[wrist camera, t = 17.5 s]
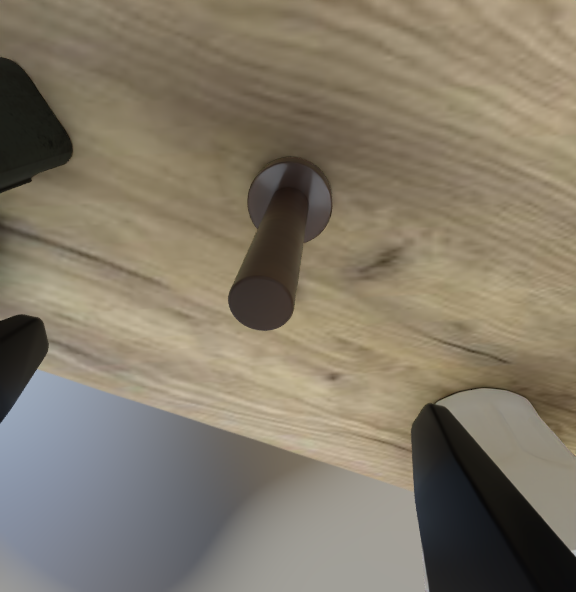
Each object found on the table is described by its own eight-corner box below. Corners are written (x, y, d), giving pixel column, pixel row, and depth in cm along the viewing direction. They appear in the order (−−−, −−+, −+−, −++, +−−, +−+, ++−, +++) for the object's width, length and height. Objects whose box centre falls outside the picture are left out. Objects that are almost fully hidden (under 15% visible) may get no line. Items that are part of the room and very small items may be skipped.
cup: (546, 342, 22) (701, 535, 13) (581, 448, 27) (709, 640, 18) (368, 399, 27) (389, 572, 17) (427, 481, 32) (467, 647, 23)
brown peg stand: (342, 168, 18) (356, 259, 9) (319, 244, 20) (312, 372, 12) (259, 147, 17) (192, 218, 9) (245, 226, 20) (184, 342, 11)
